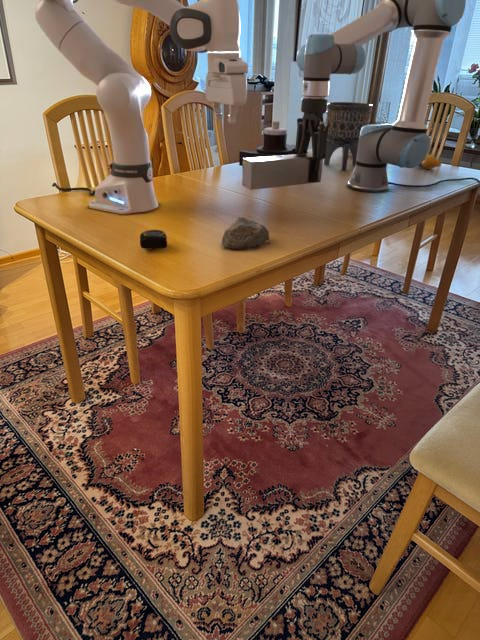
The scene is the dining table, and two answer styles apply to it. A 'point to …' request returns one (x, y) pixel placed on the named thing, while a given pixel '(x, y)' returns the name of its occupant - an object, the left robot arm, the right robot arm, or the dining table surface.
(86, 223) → the dining table surface
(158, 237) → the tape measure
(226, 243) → the rock
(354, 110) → the planter
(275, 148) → the mechanical component
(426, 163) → the toy
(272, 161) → the bar
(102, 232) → the dining table surface
